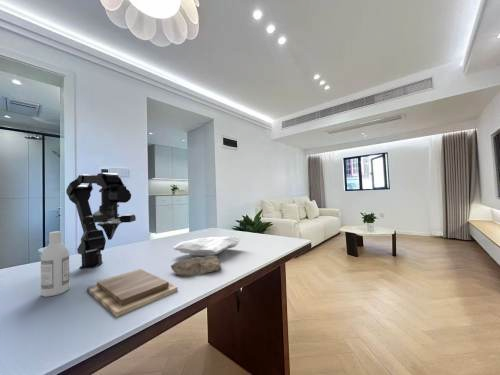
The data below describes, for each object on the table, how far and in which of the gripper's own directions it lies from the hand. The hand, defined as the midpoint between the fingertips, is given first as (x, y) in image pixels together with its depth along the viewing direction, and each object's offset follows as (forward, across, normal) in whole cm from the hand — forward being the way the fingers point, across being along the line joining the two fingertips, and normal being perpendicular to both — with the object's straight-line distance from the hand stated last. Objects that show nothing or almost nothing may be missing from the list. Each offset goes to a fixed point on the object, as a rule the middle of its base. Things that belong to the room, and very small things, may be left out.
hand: (110, 239), depth 89 cm
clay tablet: (+14, +36, -5) cm, 39 cm away
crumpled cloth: (+13, +40, +15) cm, 45 cm away
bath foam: (+13, -8, -18) cm, 24 cm away
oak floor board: (+13, +17, -21) cm, 30 cm away
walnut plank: (+12, +11, -15) cm, 21 cm away
